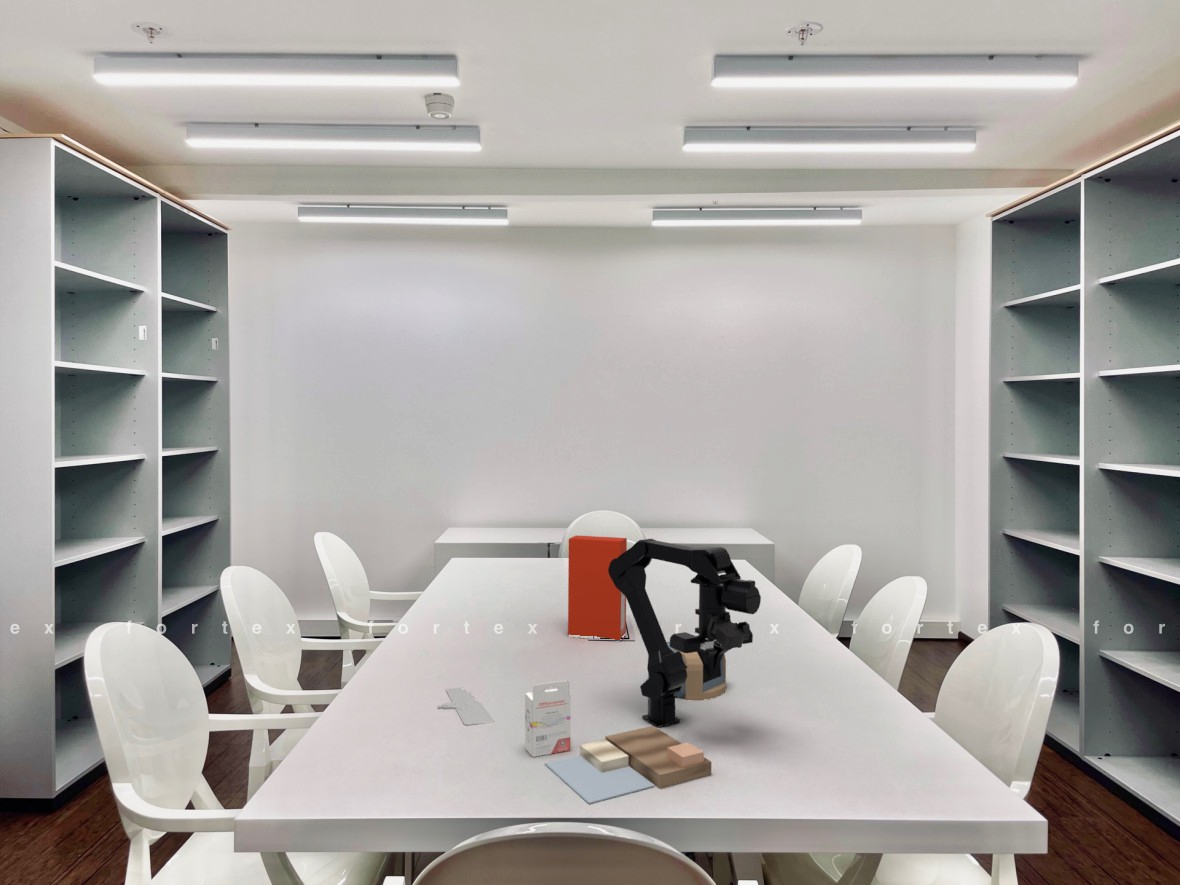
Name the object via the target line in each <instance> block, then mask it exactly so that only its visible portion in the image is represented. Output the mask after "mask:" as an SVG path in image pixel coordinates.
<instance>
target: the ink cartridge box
mask: <svg viewBox="0 0 1180 885" xmlns="http://www.w3.org/2000/svg"><path fill="white" fill-rule="evenodd" d="M550 688H553V689H550ZM524 749H525V750H526V751H527V753H529V755H530V756H531V757H532V758H535V757H541V756H542V755H543V756H547V755H552V754H553V753H554V754H559V753H564V752H563V751H565V752H569V751H571V695H570V681H569V680H568V679H567V680H561V681H559V680H557V681H551V682H550V681H549V682H544V683H536V684H532V692H525V693H524ZM568 750H569V751H568ZM558 752H559V753H558ZM554 754H553V755H554Z"/></svg>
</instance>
